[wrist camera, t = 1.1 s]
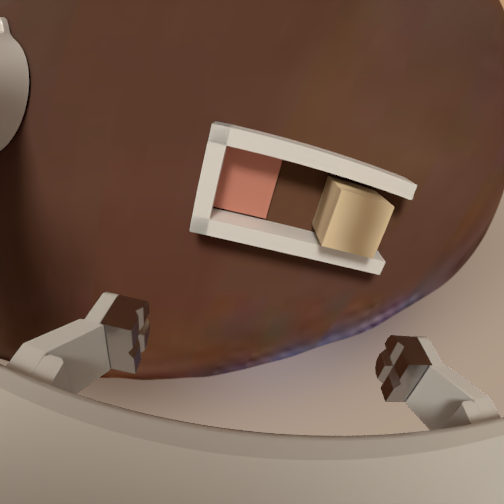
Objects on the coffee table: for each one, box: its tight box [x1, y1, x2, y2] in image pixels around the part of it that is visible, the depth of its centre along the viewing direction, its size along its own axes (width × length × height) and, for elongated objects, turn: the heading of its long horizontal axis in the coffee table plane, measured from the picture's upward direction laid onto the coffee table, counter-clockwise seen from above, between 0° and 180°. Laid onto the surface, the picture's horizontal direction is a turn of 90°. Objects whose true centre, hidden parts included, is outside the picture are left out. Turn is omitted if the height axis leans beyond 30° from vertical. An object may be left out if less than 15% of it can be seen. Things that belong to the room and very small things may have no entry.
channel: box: [189, 121, 417, 275], centre depth 28 cm, size 18×10×3 cm, turn 76°
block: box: [312, 176, 394, 259], centre depth 28 cm, size 5×5×5 cm
